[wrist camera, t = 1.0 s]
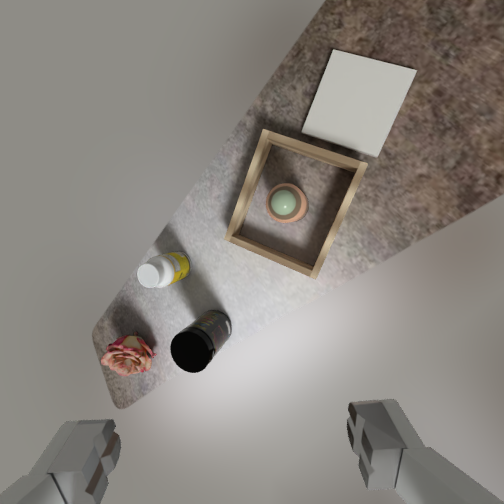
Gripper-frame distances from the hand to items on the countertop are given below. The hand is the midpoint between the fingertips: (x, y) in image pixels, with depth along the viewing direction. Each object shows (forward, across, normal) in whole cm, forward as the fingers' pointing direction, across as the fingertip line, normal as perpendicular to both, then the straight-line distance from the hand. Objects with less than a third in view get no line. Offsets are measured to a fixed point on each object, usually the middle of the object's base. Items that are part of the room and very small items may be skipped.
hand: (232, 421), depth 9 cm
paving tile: (+38, -18, -14) cm, 45 cm away
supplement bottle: (+41, +13, +11) cm, 44 cm away
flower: (+40, +22, +28) cm, 54 cm away
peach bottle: (+37, -8, 0) cm, 38 cm away
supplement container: (+37, +6, +22) cm, 43 cm away
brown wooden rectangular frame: (+37, -8, 0) cm, 38 cm away
